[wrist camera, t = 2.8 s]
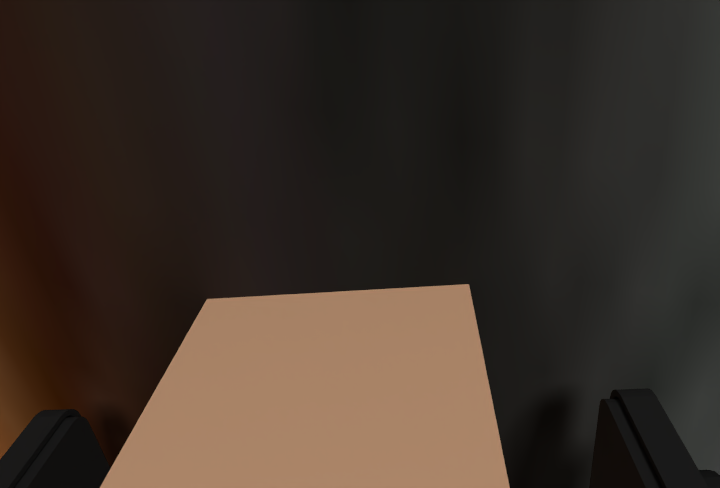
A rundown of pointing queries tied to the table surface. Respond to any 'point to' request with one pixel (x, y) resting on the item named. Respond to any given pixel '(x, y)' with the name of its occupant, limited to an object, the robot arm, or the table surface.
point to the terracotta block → (322, 397)
